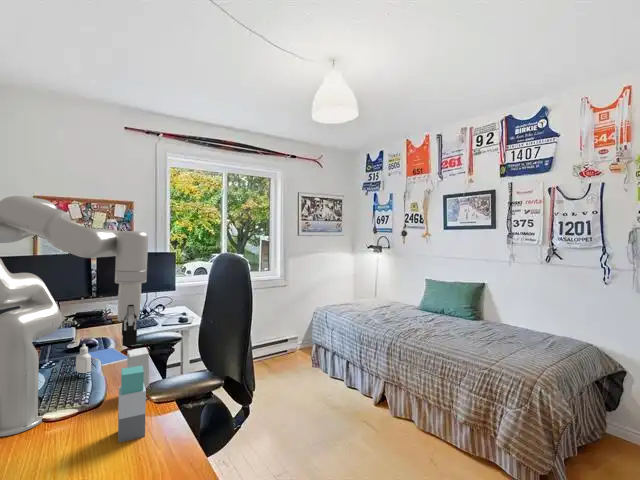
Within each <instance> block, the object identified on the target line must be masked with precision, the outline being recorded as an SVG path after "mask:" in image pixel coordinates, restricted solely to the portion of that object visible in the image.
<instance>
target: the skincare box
mask: <svg viewBox="0 0 640 480" xmlns="http://www.w3.org/2000/svg"><path fill="white" fill-rule="evenodd" d="M126 352H127V353H126V356H127V365H126V368H129V367H136V366H143V371H144V385H145V389H146V388H147V387H148V386H149V387H150V362H149V361H150V360H149V359H150V352H149V351H148V349H147V348H146V346H145V347H139V348H135V349H128V350H126ZM146 400H148V399H147V398H146Z"/></svg>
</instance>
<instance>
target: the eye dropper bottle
mask: <svg viewBox="0 0 640 480" xmlns="http://www.w3.org/2000/svg"><path fill="white" fill-rule="evenodd" d="M88 353H89V347H88V346H86V343H82V346H81V347H80V348H79V353H78V354H77V355H76V356H75V372H76V371H77V372H79V373H87V372H89V371H91V372H92V363H91V356H90V354H88Z"/></svg>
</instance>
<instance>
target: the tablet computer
mask: <svg viewBox="0 0 640 480" xmlns="http://www.w3.org/2000/svg"><path fill="white" fill-rule="evenodd" d="M88 354H90V356H91V357H93V358H97V359H99V360H100V361H101V364H102V367H105V366H106V367H107V366H110V365H114V364H117V363H122V362H126V361H127V355H125V354H124V353H122V352H121V351H118V350H117V349H116V348H113V347H112V348H111V347H110V348H104V349H100V350H95V351H91V352H88Z"/></svg>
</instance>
